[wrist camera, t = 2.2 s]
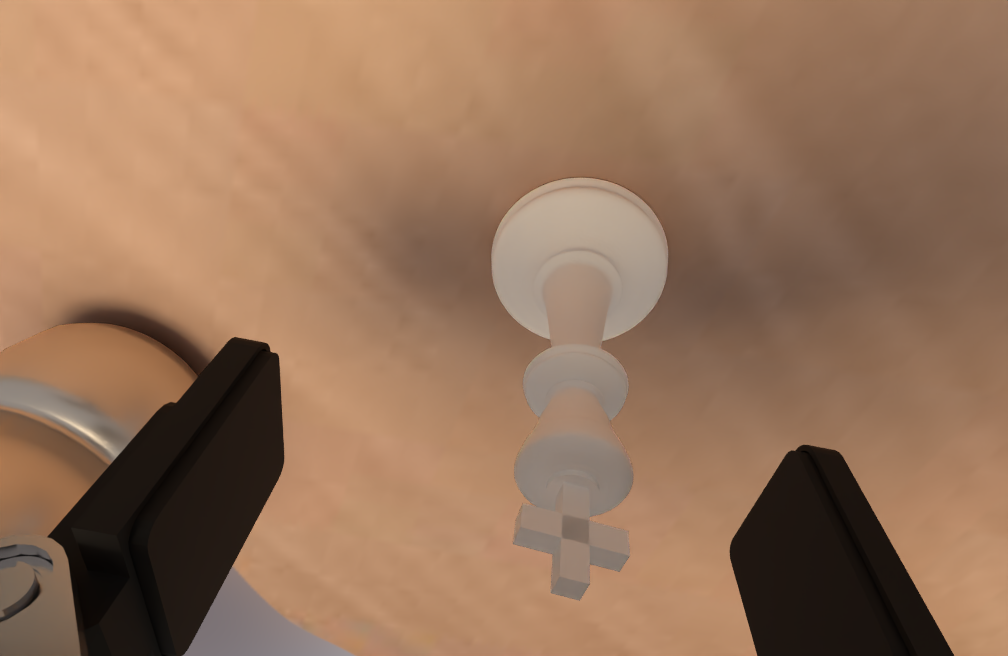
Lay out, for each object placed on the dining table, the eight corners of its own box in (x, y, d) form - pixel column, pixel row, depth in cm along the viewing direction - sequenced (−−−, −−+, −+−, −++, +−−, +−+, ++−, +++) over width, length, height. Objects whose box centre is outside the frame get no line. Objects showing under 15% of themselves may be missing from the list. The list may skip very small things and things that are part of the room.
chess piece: (516, 153, 15) (430, 420, 7) (698, 206, 15) (833, 529, 7) (475, 308, 18) (377, 631, 9) (629, 351, 18) (666, 704, 10)
